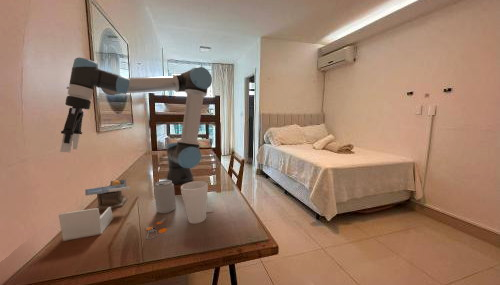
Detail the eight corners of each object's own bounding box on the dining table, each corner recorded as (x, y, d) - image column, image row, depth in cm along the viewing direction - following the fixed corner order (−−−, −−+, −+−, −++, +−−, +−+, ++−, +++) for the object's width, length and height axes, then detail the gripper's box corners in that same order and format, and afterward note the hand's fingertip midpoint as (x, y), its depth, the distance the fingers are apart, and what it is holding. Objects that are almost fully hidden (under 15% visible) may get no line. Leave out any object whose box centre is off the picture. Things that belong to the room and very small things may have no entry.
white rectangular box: (81, 223, 77) (77, 200, 76) (113, 218, 80) (110, 195, 79) (63, 240, 66) (58, 214, 65) (101, 234, 69) (97, 208, 68)
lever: (113, 189, 104) (112, 181, 105) (141, 186, 108) (140, 177, 108) (85, 195, 77) (85, 183, 78) (124, 190, 81) (123, 179, 81)
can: (153, 210, 85) (150, 182, 83) (171, 204, 90) (168, 178, 88) (161, 216, 79) (158, 186, 78) (179, 209, 85) (176, 181, 83)
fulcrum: (100, 203, 95) (98, 186, 94) (127, 199, 98) (125, 183, 97) (93, 211, 87) (90, 192, 86) (122, 206, 90) (119, 189, 89)
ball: (122, 186, 102) (121, 179, 102) (116, 188, 99) (116, 180, 99) (116, 186, 103) (115, 179, 103) (110, 188, 99) (109, 181, 99)
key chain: (168, 235, 67) (167, 233, 67) (142, 241, 64) (142, 239, 64) (167, 218, 79) (167, 216, 79) (146, 222, 76) (145, 220, 76)
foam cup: (182, 216, 79) (179, 183, 77) (207, 210, 82) (204, 179, 81) (185, 228, 70) (182, 192, 68) (212, 221, 74) (209, 186, 72)
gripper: (73, 99, 91) (64, 146, 90) (59, 90, 70) (46, 152, 69) (94, 103, 95) (85, 148, 94) (86, 96, 74) (75, 154, 73)
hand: (69, 150), depth 81 cm, fingers open, 13 cm apart
